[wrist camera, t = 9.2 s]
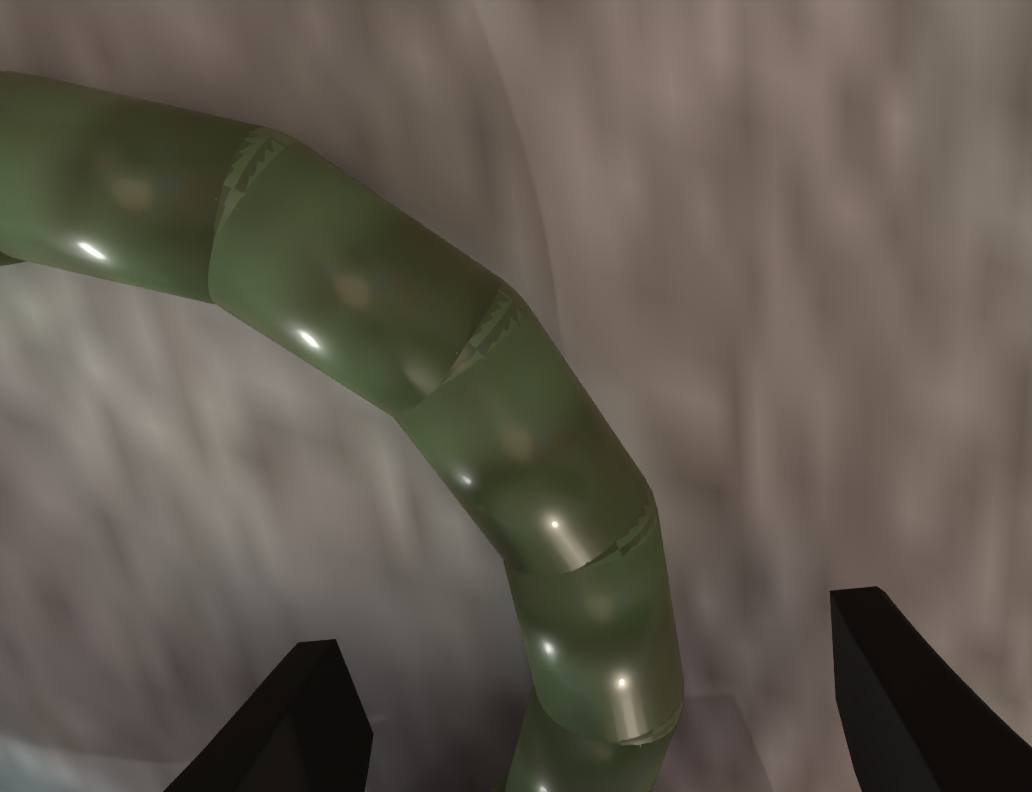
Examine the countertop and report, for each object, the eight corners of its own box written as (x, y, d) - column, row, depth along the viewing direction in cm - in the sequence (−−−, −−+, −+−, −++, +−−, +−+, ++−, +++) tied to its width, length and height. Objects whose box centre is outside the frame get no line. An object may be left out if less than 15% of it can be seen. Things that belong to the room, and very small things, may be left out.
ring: (-27, 926, 21) (-101, 1031, 19) (-531, 199, 14) (-745, 235, 12) (722, 915, 18) (736, 1043, 16) (575, -59, 10) (561, -74, 8)
